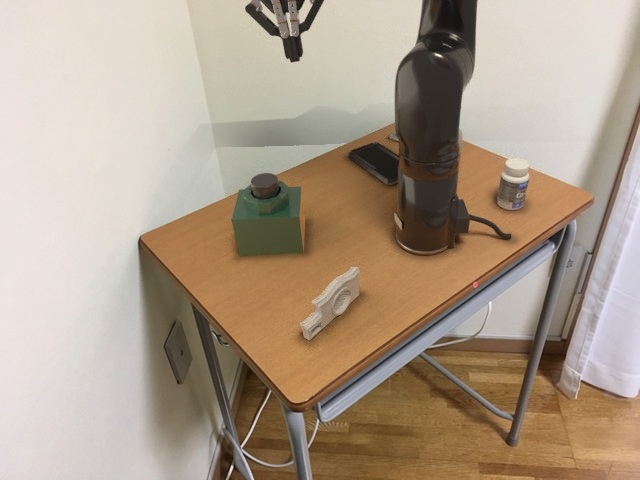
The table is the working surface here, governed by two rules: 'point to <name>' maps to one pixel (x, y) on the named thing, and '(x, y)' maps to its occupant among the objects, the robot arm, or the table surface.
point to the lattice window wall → (332, 302)
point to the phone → (377, 162)
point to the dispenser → (269, 222)
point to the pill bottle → (513, 184)
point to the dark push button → (265, 186)
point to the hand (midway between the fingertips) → (295, 60)
